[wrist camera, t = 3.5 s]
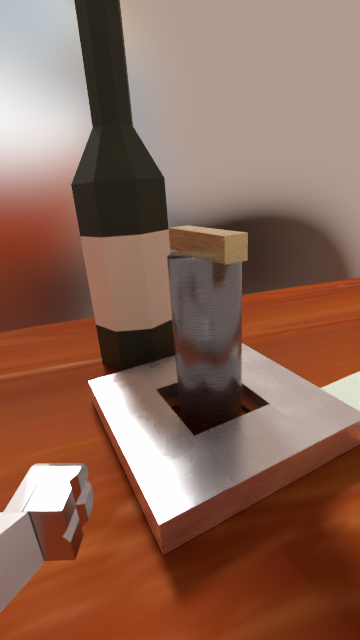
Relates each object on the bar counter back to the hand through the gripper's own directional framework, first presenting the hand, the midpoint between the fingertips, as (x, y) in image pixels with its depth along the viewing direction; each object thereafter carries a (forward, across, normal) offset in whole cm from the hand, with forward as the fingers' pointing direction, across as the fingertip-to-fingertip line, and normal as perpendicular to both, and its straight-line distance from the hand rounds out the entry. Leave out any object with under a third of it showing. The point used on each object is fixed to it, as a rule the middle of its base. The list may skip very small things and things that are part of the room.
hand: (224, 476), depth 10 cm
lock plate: (+12, 0, +8) cm, 15 cm away
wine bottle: (+24, +7, +8) cm, 26 cm away
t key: (+12, 0, +8) cm, 15 cm away
